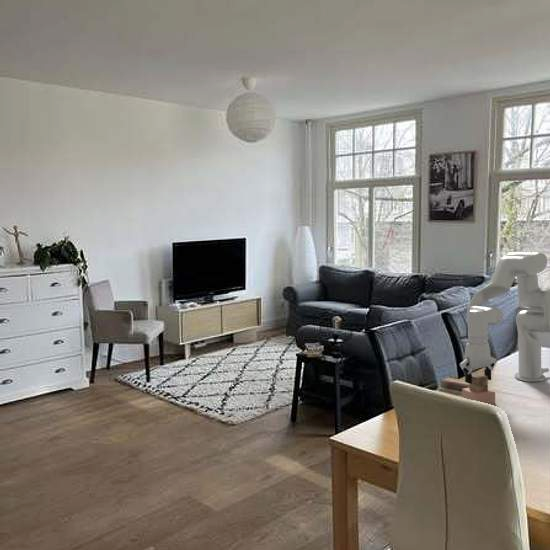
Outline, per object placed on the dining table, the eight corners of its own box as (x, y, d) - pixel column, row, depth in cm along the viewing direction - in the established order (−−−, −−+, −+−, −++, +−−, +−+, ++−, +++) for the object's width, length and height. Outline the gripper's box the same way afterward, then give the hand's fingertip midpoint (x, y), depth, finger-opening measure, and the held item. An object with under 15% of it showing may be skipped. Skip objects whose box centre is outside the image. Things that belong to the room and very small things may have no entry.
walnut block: (479, 387, 227) (479, 373, 227) (487, 390, 222) (487, 376, 222) (469, 389, 225) (469, 375, 225) (477, 392, 221) (477, 378, 220)
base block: (479, 397, 230) (479, 385, 230) (495, 403, 222) (495, 391, 221) (462, 400, 227) (462, 388, 227) (477, 407, 219) (477, 394, 218)
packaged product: (437, 380, 242) (449, 375, 249) (437, 391, 242) (449, 385, 249) (476, 388, 229) (487, 382, 236) (476, 399, 229) (487, 393, 236)
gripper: (488, 335, 228) (488, 375, 230) (454, 340, 222) (454, 381, 224) (501, 339, 221) (501, 380, 223) (466, 344, 215) (467, 386, 217)
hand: (478, 381), depth 224 cm, fingers open, 9 cm apart
